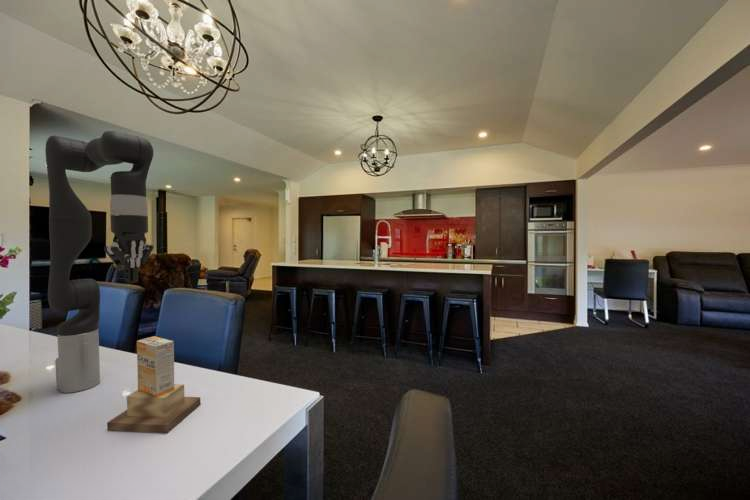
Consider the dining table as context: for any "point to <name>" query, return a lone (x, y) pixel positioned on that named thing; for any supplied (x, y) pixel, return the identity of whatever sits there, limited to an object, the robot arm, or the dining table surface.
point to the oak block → (155, 403)
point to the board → (153, 419)
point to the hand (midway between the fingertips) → (131, 282)
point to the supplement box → (155, 365)
